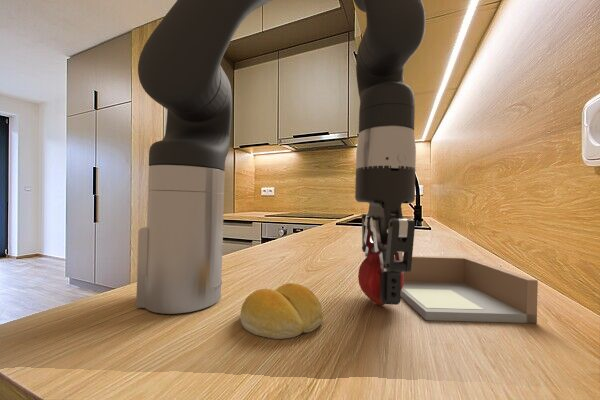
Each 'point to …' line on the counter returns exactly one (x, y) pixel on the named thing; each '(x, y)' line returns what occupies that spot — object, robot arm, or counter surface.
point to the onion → (372, 278)
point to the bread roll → (281, 312)
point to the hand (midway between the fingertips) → (381, 293)
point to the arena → (468, 291)
